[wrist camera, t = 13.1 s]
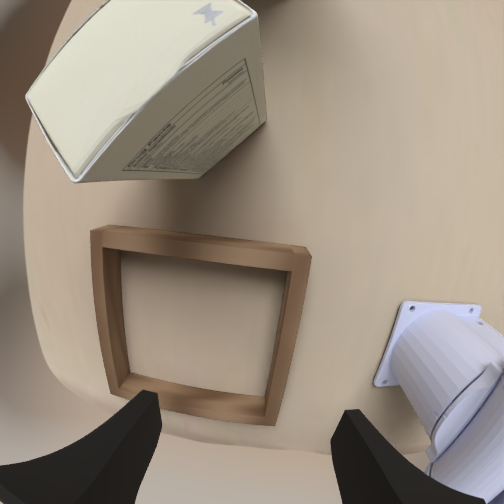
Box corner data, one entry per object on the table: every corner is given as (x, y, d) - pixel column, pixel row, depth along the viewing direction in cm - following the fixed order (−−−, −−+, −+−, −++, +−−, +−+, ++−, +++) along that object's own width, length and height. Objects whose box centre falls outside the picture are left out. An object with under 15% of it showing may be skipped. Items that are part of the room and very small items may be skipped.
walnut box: (305, 247, 18) (311, 256, 16) (274, 405, 21) (275, 426, 19) (109, 224, 18) (90, 230, 16) (121, 377, 22) (110, 393, 19)
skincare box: (226, 76, 16) (172, -50, 4) (269, 120, 16) (274, 7, 4) (154, 139, 17) (17, 96, 5) (193, 185, 17) (70, 189, 6)
